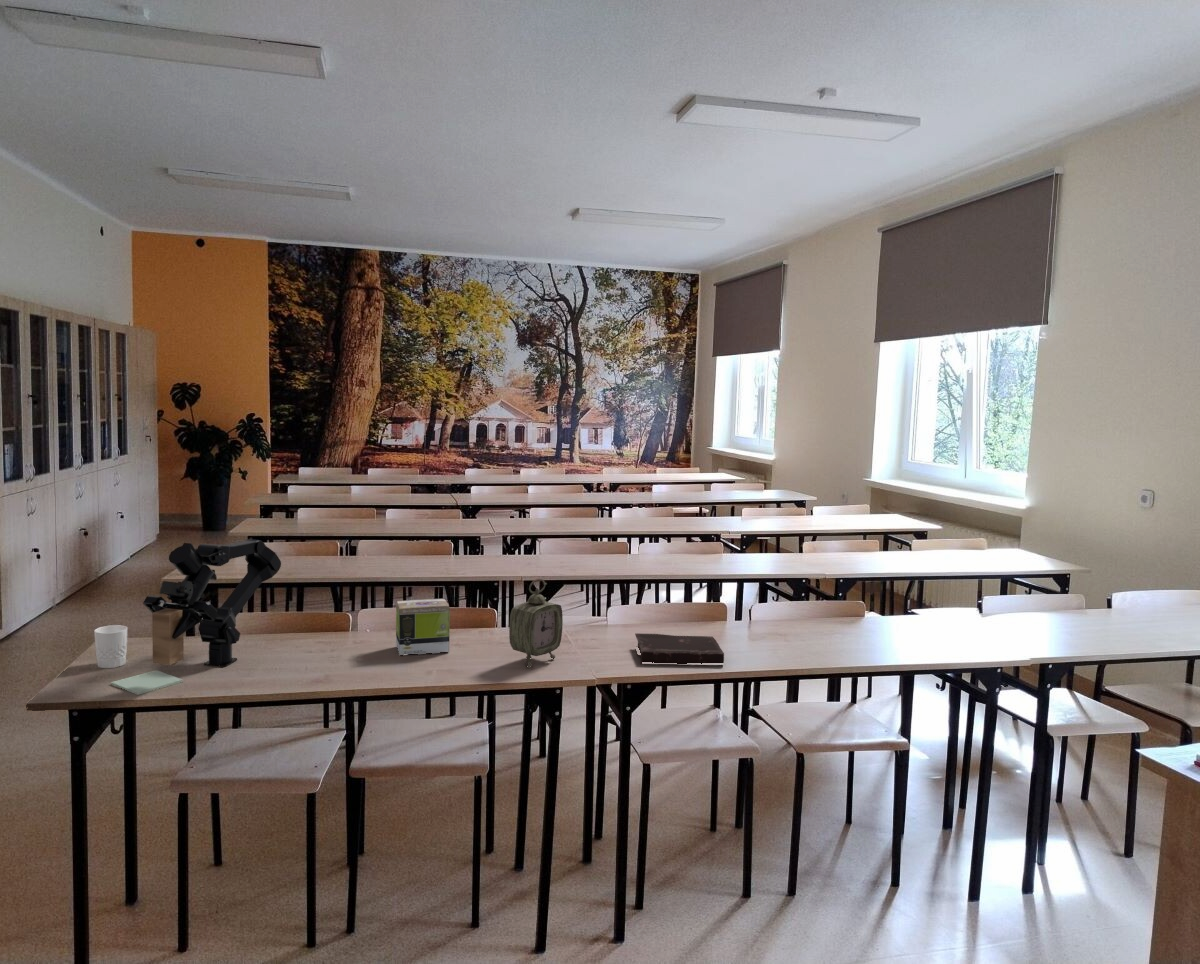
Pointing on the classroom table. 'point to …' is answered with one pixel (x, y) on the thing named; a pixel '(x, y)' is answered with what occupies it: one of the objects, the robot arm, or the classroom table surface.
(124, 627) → the white cup
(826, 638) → the classroom table surface
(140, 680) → the green mat
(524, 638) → the tabletop clock
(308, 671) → the classroom table surface
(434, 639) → the tea box
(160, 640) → the walnut block
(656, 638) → the diary
